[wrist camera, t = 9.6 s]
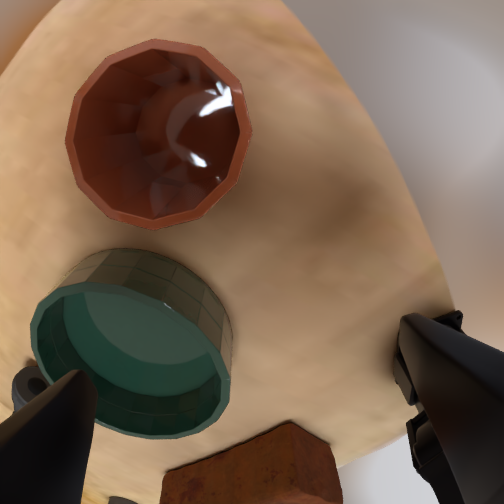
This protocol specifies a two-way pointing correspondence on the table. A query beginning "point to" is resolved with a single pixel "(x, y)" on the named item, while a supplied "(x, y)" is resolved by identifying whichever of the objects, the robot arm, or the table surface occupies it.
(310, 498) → the brick
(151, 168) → the small pot
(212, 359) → the planter
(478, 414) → the robot arm
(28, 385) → the flashlight
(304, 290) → the table surface
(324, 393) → the table surface
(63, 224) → the table surface
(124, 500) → the bottle
